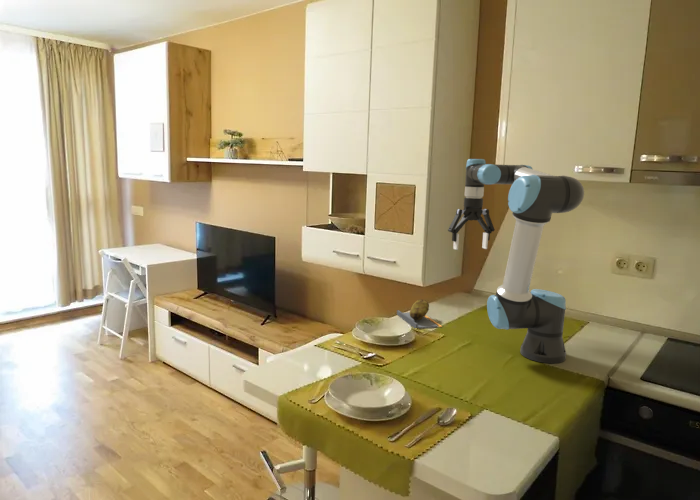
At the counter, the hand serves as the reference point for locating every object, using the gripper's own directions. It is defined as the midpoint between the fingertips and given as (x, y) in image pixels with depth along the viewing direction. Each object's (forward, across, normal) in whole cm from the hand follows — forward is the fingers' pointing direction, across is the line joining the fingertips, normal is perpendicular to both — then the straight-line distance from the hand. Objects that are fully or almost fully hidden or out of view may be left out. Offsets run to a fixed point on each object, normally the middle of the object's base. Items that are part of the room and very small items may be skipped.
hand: (470, 248), depth 212 cm
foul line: (+32, +13, -7) cm, 35 cm away
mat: (+32, +19, -7) cm, 38 cm away
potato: (+31, +20, -7) cm, 37 cm away
